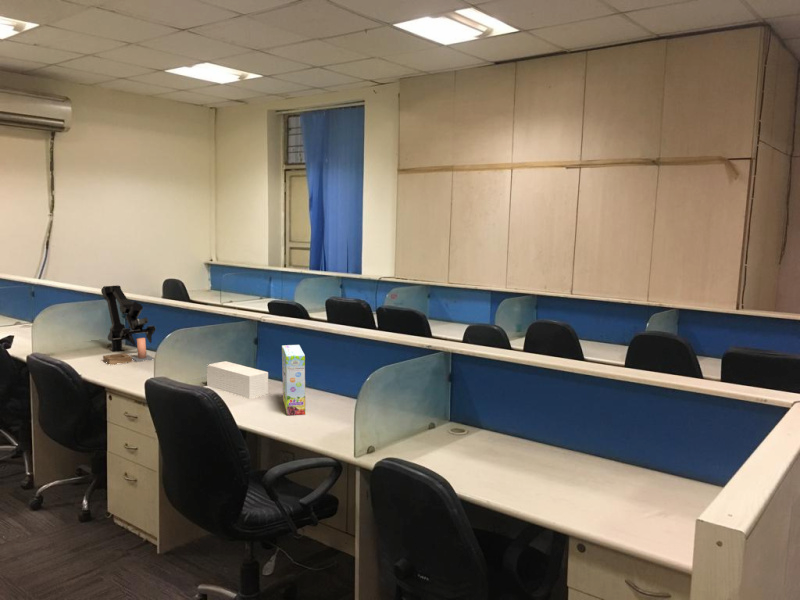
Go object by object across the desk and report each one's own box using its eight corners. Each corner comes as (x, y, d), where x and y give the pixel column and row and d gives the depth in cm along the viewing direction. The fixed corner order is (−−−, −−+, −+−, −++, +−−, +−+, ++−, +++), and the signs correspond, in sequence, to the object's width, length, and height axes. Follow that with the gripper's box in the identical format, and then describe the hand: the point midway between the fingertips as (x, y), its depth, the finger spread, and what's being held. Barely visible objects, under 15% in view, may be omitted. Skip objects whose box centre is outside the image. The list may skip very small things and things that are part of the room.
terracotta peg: (136, 358, 354) (134, 338, 353) (142, 356, 358) (141, 337, 357) (141, 358, 352) (140, 339, 351) (148, 357, 356) (147, 338, 355)
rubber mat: (130, 358, 356) (130, 357, 356) (148, 356, 363) (148, 355, 362) (136, 361, 349) (136, 360, 348) (154, 359, 355) (154, 358, 355)
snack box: (280, 401, 282) (281, 344, 279) (300, 400, 284) (301, 344, 281) (285, 416, 261) (285, 355, 258) (306, 415, 264) (306, 354, 260)
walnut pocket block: (103, 361, 349) (103, 355, 348) (125, 358, 356) (124, 353, 356) (109, 365, 340) (109, 359, 340) (131, 362, 347) (131, 357, 347)
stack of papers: (207, 386, 304) (206, 364, 303) (225, 382, 312) (225, 361, 311) (249, 399, 284) (249, 376, 283) (268, 394, 293) (268, 372, 291)
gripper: (121, 314, 348) (131, 337, 342) (153, 311, 362) (163, 333, 356) (115, 326, 354) (124, 349, 348) (147, 323, 368) (157, 344, 362)
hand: (143, 343), depth 354 cm, fingers open, 9 cm apart
